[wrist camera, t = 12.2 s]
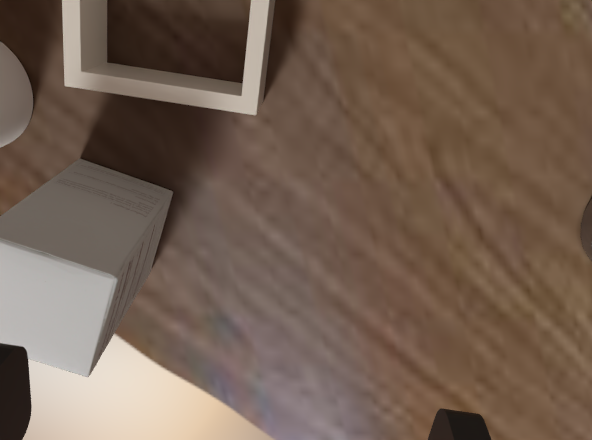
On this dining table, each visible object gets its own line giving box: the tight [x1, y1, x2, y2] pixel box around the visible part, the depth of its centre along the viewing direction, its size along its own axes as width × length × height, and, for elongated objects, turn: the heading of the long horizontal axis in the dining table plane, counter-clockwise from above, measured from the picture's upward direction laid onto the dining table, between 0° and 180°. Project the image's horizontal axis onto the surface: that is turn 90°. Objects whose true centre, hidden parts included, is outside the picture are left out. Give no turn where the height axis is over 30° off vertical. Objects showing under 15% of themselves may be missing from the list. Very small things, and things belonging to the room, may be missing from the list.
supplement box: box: [0, 159, 173, 377], centre depth 34 cm, size 7×7×13 cm
